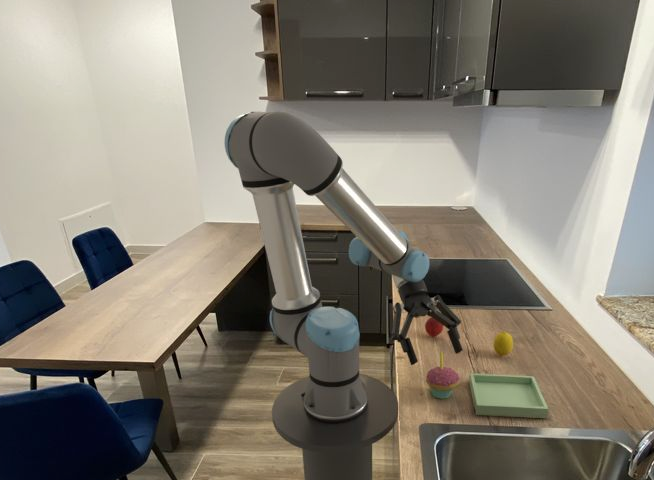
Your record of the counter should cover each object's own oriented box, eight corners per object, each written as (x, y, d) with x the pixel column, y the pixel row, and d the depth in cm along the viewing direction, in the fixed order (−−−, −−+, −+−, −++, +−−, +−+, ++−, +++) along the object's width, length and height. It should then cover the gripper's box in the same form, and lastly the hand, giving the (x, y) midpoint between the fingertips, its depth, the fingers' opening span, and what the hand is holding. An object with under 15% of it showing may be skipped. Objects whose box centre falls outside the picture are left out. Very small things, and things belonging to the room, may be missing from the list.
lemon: (493, 359, 131) (496, 335, 128) (491, 351, 136) (494, 327, 133) (512, 360, 130) (516, 336, 127) (509, 352, 135) (512, 328, 132)
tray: (475, 414, 106) (476, 405, 105) (469, 382, 120) (470, 373, 119) (546, 418, 105) (548, 408, 104) (532, 385, 118) (533, 376, 117)
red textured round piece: (443, 340, 142) (445, 318, 139) (425, 341, 142) (427, 318, 139) (440, 332, 148) (442, 310, 144) (423, 333, 147) (424, 311, 144)
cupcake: (419, 388, 117) (421, 348, 112) (448, 382, 120) (451, 342, 115) (434, 406, 110) (437, 364, 105) (464, 399, 112) (468, 358, 107)
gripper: (372, 285, 112) (399, 363, 106) (454, 271, 122) (484, 343, 115) (364, 297, 119) (389, 372, 112) (442, 284, 128) (469, 352, 122)
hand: (437, 357), depth 114 cm, fingers open, 13 cm apart
